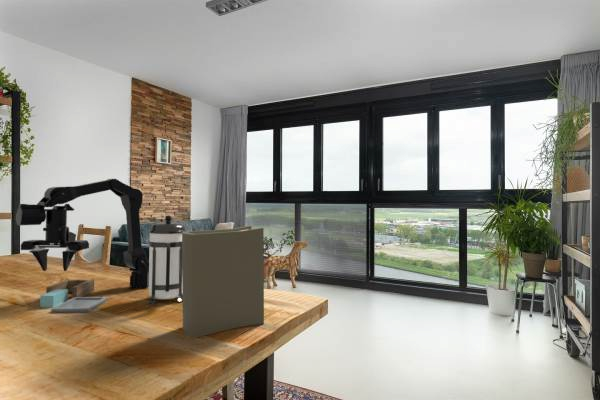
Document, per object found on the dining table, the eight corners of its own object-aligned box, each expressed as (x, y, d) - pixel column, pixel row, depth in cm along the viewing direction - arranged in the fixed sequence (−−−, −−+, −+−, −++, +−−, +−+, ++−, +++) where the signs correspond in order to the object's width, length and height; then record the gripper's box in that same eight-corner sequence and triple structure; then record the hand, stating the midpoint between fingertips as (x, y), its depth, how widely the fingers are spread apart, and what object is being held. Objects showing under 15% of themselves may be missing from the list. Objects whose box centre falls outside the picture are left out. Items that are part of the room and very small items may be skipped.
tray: (107, 300, 120) (107, 296, 120) (88, 312, 107) (88, 308, 107) (74, 300, 119) (74, 297, 119) (51, 312, 106) (51, 308, 106)
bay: (94, 291, 132) (94, 279, 132) (76, 300, 120) (77, 287, 120) (66, 291, 131) (66, 279, 131) (46, 300, 119) (46, 287, 119)
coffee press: (131, 302, 119) (133, 215, 119) (168, 291, 133) (170, 214, 133) (166, 310, 111) (168, 217, 111) (202, 298, 125) (204, 215, 125)
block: (67, 289, 119) (53, 295, 111) (67, 300, 119) (53, 308, 111) (55, 289, 119) (40, 295, 111) (55, 300, 119) (40, 308, 111)
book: (189, 341, 88) (188, 232, 88) (179, 329, 96) (179, 229, 96) (263, 323, 100) (263, 228, 100) (249, 314, 108) (249, 225, 108)
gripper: (97, 223, 124) (96, 266, 124) (42, 222, 122) (41, 266, 122) (80, 225, 113) (79, 272, 113) (19, 224, 111) (18, 272, 111)
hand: (55, 270), depth 115 cm, fingers open, 6 cm apart
